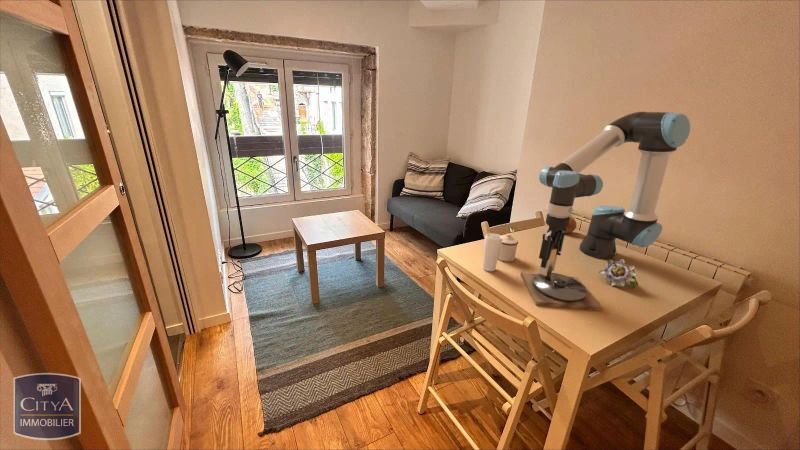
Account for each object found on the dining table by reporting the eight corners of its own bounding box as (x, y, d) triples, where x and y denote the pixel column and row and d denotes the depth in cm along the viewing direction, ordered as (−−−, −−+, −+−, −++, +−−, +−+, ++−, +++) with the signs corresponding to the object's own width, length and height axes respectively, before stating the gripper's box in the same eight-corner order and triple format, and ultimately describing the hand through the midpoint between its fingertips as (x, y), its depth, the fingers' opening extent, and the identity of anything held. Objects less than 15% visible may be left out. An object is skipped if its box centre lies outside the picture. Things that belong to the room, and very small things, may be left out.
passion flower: (609, 297, 125) (595, 272, 124) (612, 281, 132) (599, 258, 131) (642, 293, 117) (628, 266, 116) (643, 277, 124) (630, 251, 123)
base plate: (576, 280, 126) (577, 277, 125) (601, 310, 107) (602, 307, 106) (520, 275, 127) (521, 272, 127) (535, 305, 109) (536, 301, 108)
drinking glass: (488, 274, 128) (493, 240, 122) (477, 266, 133) (481, 234, 128) (500, 270, 131) (506, 238, 125) (489, 263, 136) (494, 232, 131)
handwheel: (554, 271, 128) (561, 242, 123) (596, 295, 113) (607, 262, 108) (522, 280, 120) (528, 249, 115) (563, 306, 105) (572, 272, 100)
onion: (552, 228, 180) (555, 212, 176) (570, 230, 179) (574, 213, 175) (558, 235, 171) (562, 218, 167) (577, 236, 170) (581, 219, 166)
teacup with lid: (518, 258, 142) (523, 235, 138) (507, 264, 136) (512, 240, 132) (496, 249, 150) (499, 226, 146) (484, 254, 145) (488, 231, 141)
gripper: (557, 223, 103) (544, 283, 112) (580, 212, 114) (567, 268, 123) (535, 217, 109) (524, 275, 117) (560, 207, 120) (548, 261, 128)
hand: (546, 271), depth 120 cm, fingers open, 5 cm apart
